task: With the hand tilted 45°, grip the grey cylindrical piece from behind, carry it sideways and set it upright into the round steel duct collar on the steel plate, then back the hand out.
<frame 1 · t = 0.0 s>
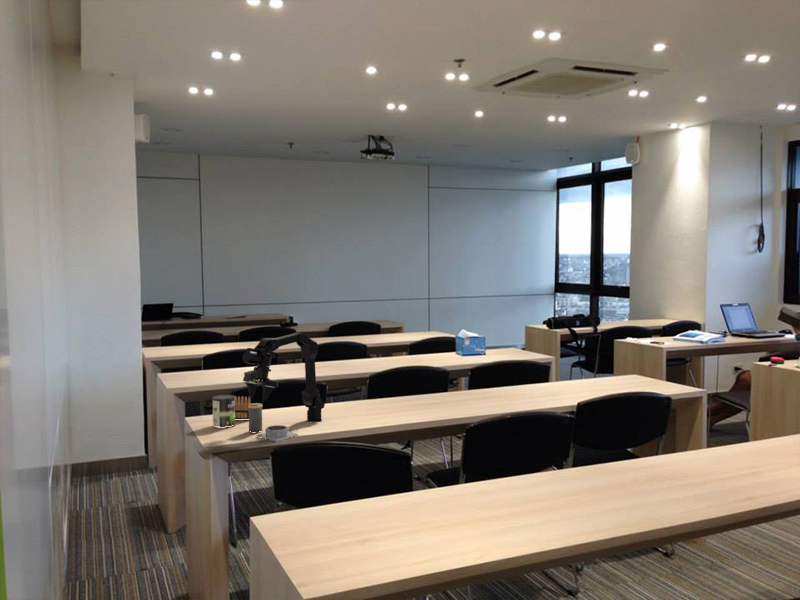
hand: (256, 400, 301), 15 cm above the table, tool pointing down, fingers open, 9 cm apart
duct collar: (276, 436, 297), on the table
coffee can: (224, 426, 316), on the table
ammunition clip: (241, 420, 328), on the table
grey cylindrical piece: (255, 431, 305), on the table
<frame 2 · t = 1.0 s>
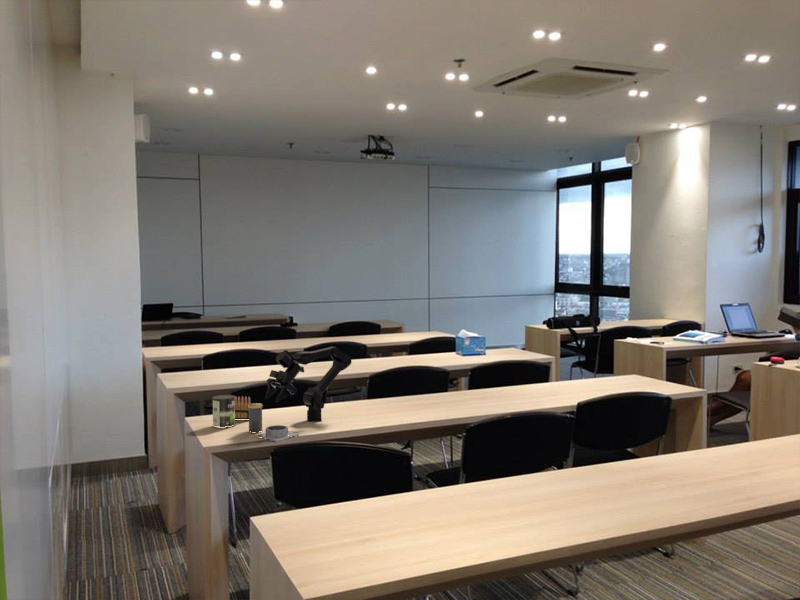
hand: (270, 400, 310), 13 cm above the table, tool tilted 45°, fingers open, 9 cm apart
nothing on the table moved.
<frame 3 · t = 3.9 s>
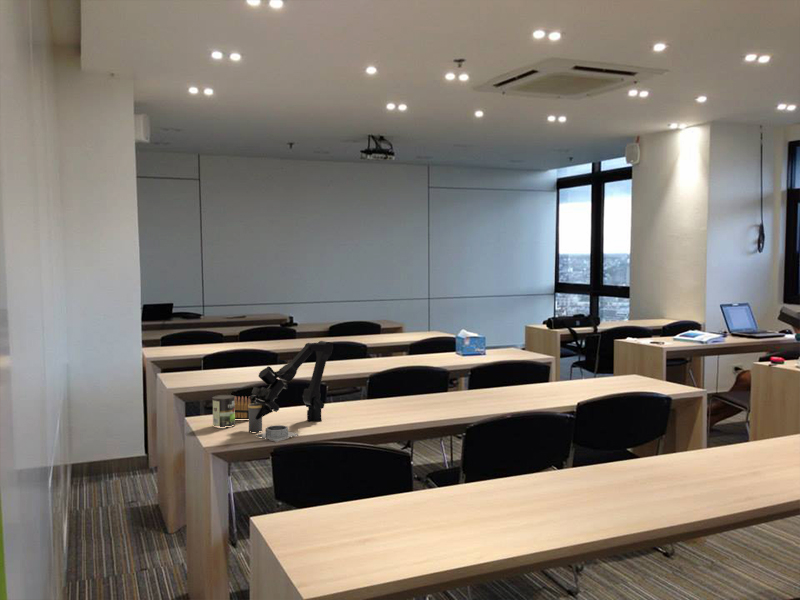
hand: (252, 417, 304), 7 cm above the table, tool tilted 45°, fingers closed on grey cylindrical piece, 6 cm apart
grey cylindrical piece: (255, 431, 305), on the table, touching gripper
everything else where it was.
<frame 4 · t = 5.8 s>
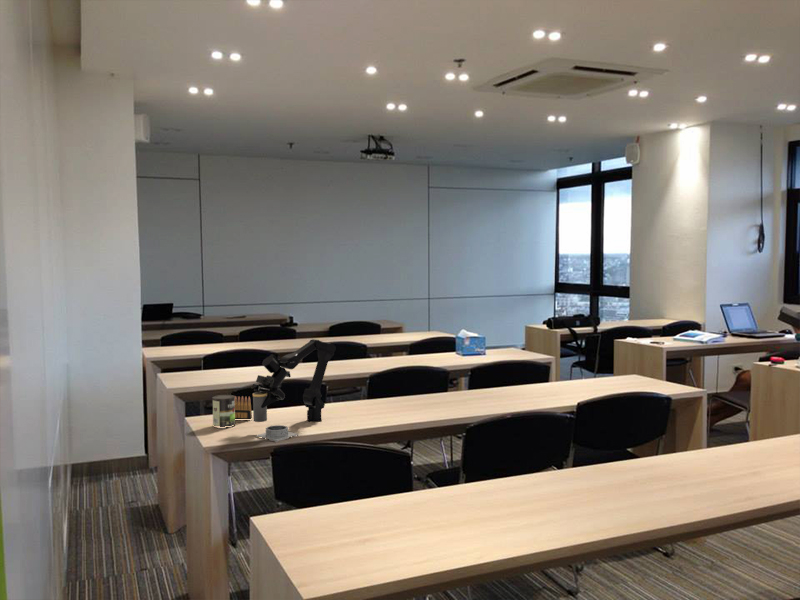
hand: (257, 406, 301), 12 cm above the table, tool tilted 45°, fingers closed on grey cylindrical piece, 6 cm apart
grey cylindrical piece: (260, 420, 302), point 6 cm above the table, touching gripper
everything else where it was.
when the fingers open (9 cm above the table, at t = 8.0 s): grey cylindrical piece drops 1 cm, resting on duct collar.
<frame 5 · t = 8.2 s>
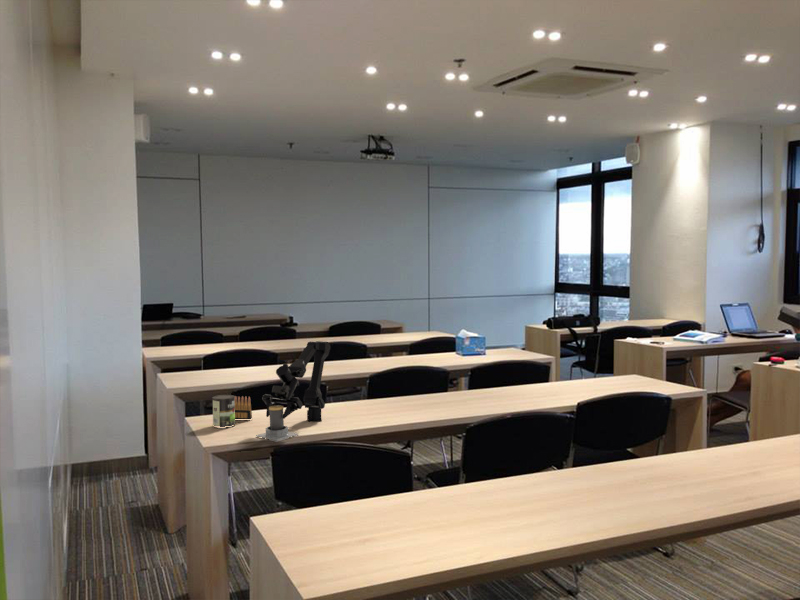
hand: (274, 417, 295), 9 cm above the table, tool tilted 45°, fingers open, 8 cm apart
grey cylindrical piece: (277, 434, 297), point 1 cm above the table, touching duct collar
everything else where it was.
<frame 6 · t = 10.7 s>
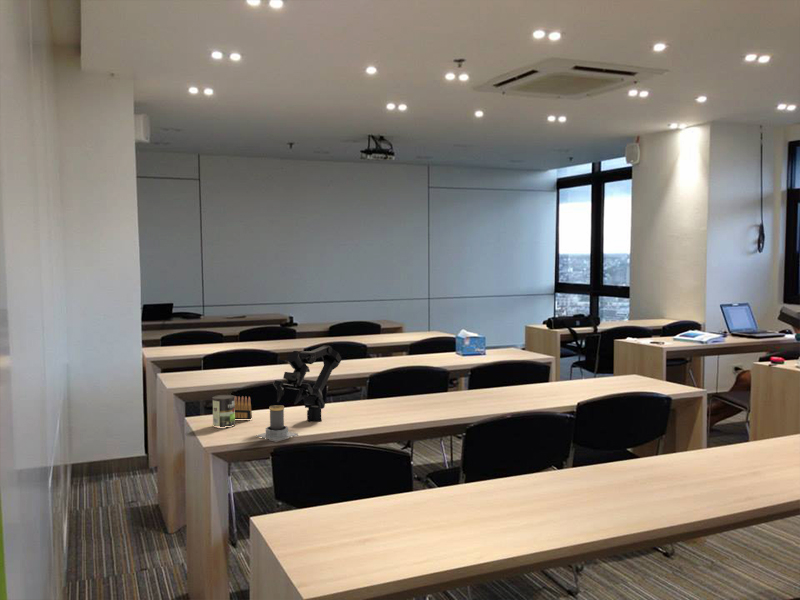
hand: (286, 402, 304), 13 cm above the table, tool tilted 45°, fingers open, 9 cm apart
nothing on the table moved.
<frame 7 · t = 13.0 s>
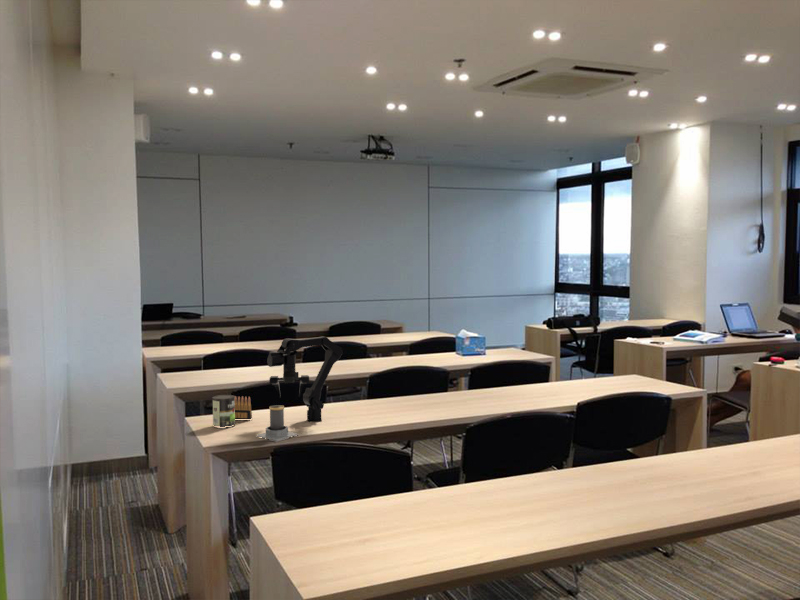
hand: (289, 397, 319), 13 cm above the table, tool pointing down, fingers open, 9 cm apart
nothing on the table moved.
at the end: grey cylindrical piece 0.1 cm off-centre on the duct collar, point 0.9 cm above the duct collar's base; grey cylindrical piece tilted 1°; the gripper is holding nothing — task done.
